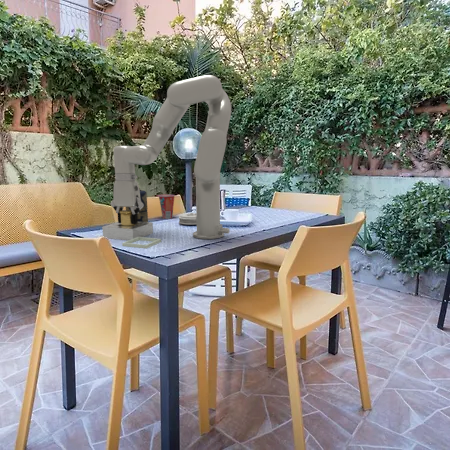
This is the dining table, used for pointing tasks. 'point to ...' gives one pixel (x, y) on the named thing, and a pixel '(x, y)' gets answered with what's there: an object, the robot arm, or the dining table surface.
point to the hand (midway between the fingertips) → (127, 222)
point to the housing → (127, 231)
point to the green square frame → (129, 244)
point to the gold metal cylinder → (126, 218)
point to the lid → (188, 218)
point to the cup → (166, 205)
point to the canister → (143, 212)
